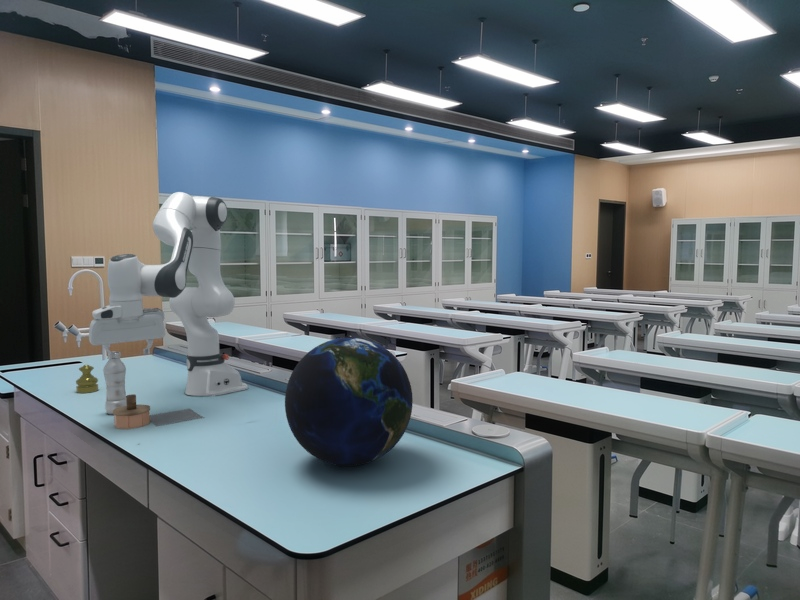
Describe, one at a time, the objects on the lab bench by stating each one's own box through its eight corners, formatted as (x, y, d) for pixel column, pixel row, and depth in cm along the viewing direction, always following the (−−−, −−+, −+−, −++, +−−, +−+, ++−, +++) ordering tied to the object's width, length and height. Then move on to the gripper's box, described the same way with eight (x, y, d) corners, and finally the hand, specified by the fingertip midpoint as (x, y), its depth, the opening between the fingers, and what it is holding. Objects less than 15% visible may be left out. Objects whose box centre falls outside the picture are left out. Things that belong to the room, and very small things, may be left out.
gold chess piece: (86, 394, 212) (84, 367, 211) (71, 392, 215) (70, 366, 214) (103, 389, 219) (101, 363, 218) (88, 388, 221) (87, 362, 221)
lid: (144, 405, 176) (144, 390, 176) (154, 411, 169) (153, 395, 168) (109, 411, 170) (108, 395, 170) (117, 418, 162) (116, 401, 162)
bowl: (144, 420, 176) (143, 405, 176) (152, 426, 169) (151, 411, 169) (112, 425, 170) (111, 411, 170) (119, 432, 163) (118, 417, 163)
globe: (304, 496, 118) (300, 352, 115) (275, 452, 145) (271, 334, 143) (435, 473, 129) (433, 341, 127) (385, 436, 157) (383, 327, 155)
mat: (189, 410, 187) (189, 408, 187) (204, 419, 176) (204, 417, 176) (144, 418, 178) (144, 416, 178) (156, 428, 167) (156, 426, 167)
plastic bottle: (133, 412, 185) (130, 351, 183) (114, 418, 179) (111, 354, 177) (119, 410, 187) (116, 350, 186) (100, 415, 181) (97, 353, 180)
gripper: (160, 306, 176) (163, 350, 177) (85, 312, 164) (89, 359, 165) (166, 308, 171) (169, 353, 172) (90, 314, 159) (93, 363, 160)
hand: (129, 356), depth 168 cm, fingers open, 8 cm apart
